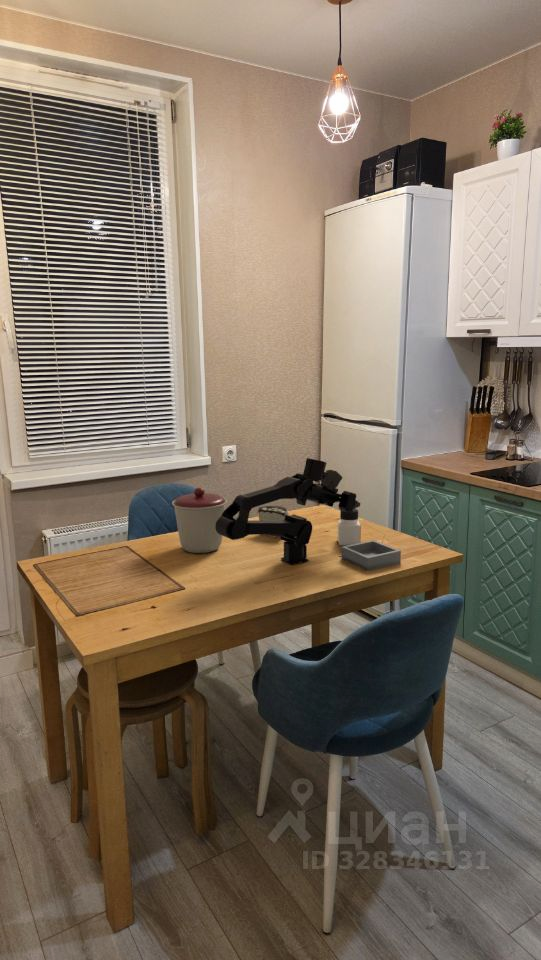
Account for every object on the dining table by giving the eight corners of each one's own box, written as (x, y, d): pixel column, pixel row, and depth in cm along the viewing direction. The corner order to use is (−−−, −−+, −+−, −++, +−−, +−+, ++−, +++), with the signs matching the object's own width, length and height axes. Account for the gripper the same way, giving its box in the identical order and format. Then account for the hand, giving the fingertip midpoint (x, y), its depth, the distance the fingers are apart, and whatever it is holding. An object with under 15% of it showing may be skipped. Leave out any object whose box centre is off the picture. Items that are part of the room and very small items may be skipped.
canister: (166, 556, 201) (163, 493, 197) (184, 539, 218) (181, 481, 214) (220, 558, 198) (218, 494, 194) (233, 541, 215) (232, 482, 211)
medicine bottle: (360, 545, 209) (361, 511, 207) (339, 545, 210) (339, 511, 207) (358, 539, 216) (358, 506, 214) (337, 539, 217) (337, 506, 214)
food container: (295, 534, 223) (295, 507, 221) (286, 538, 218) (286, 511, 216) (266, 529, 230) (266, 503, 228) (257, 533, 224) (256, 507, 222)
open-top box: (367, 570, 185) (367, 558, 184) (341, 558, 196) (341, 546, 196) (400, 563, 192) (400, 550, 191) (373, 551, 203) (373, 540, 202)
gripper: (342, 473, 189) (376, 483, 198) (304, 464, 203) (337, 474, 213) (333, 508, 189) (367, 517, 198) (295, 497, 203) (329, 505, 213)
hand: (350, 502), depth 206 cm, fingers open, 9 cm apart
